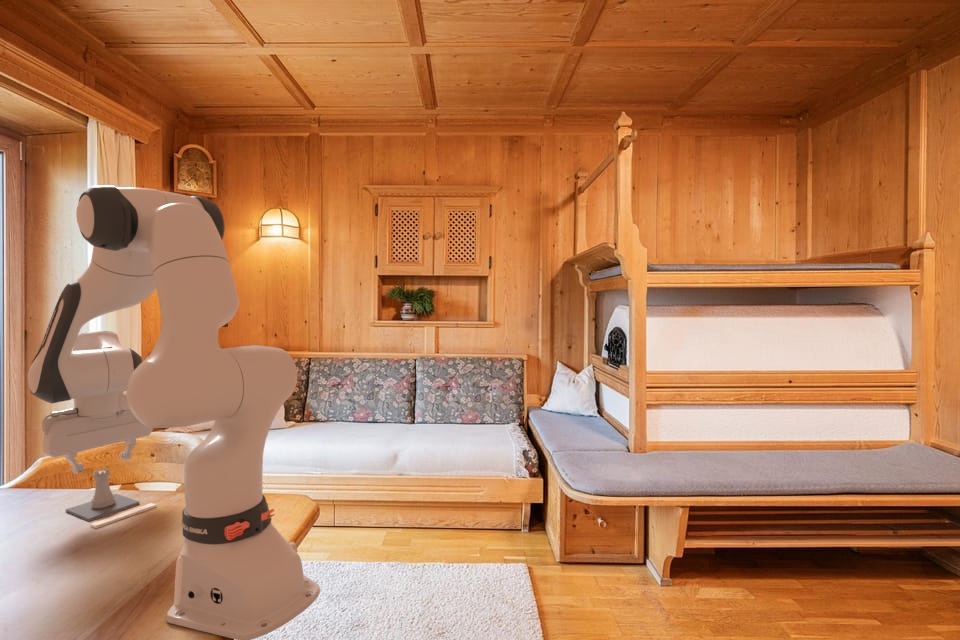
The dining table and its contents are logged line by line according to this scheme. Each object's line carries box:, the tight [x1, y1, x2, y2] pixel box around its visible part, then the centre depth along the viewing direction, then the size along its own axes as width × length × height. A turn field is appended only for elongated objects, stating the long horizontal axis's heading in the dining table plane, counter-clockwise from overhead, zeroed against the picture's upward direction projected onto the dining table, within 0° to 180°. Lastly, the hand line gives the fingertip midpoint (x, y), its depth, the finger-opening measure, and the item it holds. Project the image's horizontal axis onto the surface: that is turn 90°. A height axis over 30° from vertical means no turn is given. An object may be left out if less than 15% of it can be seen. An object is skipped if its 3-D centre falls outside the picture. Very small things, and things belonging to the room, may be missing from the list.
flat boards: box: [65, 493, 157, 529], centre depth 112 cm, size 15×12×1 cm
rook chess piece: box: [90, 467, 115, 509], centre depth 113 cm, size 4×4×8 cm
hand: (102, 465), depth 112 cm, fingers open, 8 cm apart
